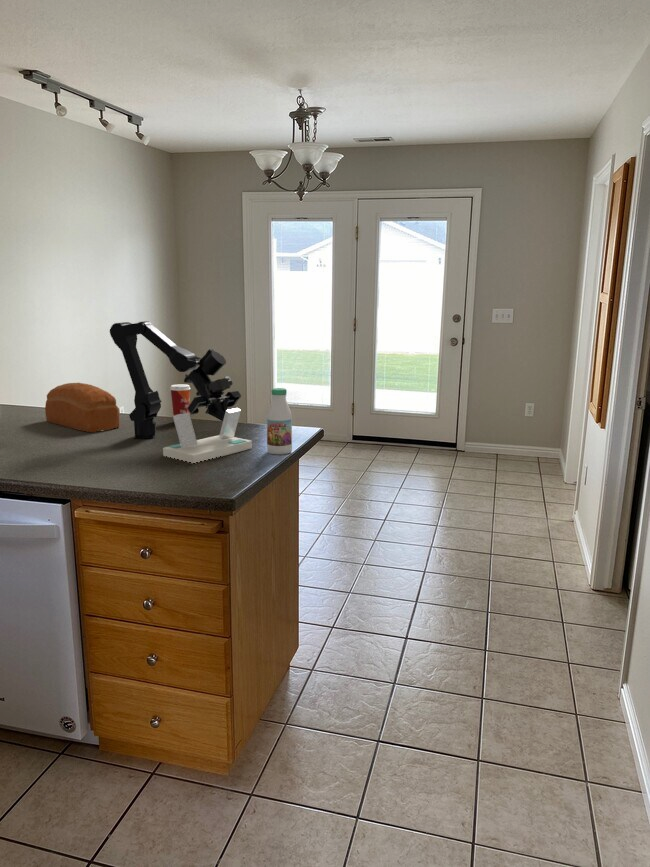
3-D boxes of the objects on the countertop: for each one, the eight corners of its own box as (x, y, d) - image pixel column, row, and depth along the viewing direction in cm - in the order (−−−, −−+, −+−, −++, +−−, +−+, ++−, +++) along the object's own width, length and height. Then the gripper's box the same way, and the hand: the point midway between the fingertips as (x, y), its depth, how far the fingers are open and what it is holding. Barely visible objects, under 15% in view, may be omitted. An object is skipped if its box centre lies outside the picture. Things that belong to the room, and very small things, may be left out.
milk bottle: (267, 449, 208) (266, 387, 203) (291, 448, 208) (291, 386, 204) (267, 455, 200) (266, 390, 196) (292, 455, 201) (292, 390, 196)
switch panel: (163, 455, 199) (162, 446, 198) (222, 441, 217) (221, 433, 217) (193, 463, 190) (193, 454, 190) (252, 448, 209) (251, 439, 208)
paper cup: (187, 424, 244) (185, 387, 240) (168, 423, 245) (166, 386, 242) (195, 420, 251) (194, 384, 248) (176, 419, 252) (175, 383, 249)
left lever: (181, 448, 196) (172, 416, 196) (194, 445, 200) (185, 413, 200) (184, 447, 195) (175, 414, 195) (197, 444, 199) (189, 412, 199)
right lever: (218, 437, 207) (225, 410, 203) (230, 434, 211) (237, 407, 207) (222, 440, 207) (229, 412, 202) (233, 437, 210) (240, 410, 206)
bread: (89, 434, 227) (86, 390, 224) (42, 421, 248) (39, 381, 245) (124, 428, 238) (121, 385, 234) (76, 416, 258) (73, 377, 255)
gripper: (192, 371, 200) (218, 411, 195) (236, 366, 214) (261, 403, 210) (176, 394, 206) (201, 433, 202) (220, 387, 220) (244, 423, 216)
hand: (228, 422), depth 207 cm, fingers closed, pressing on right lever
